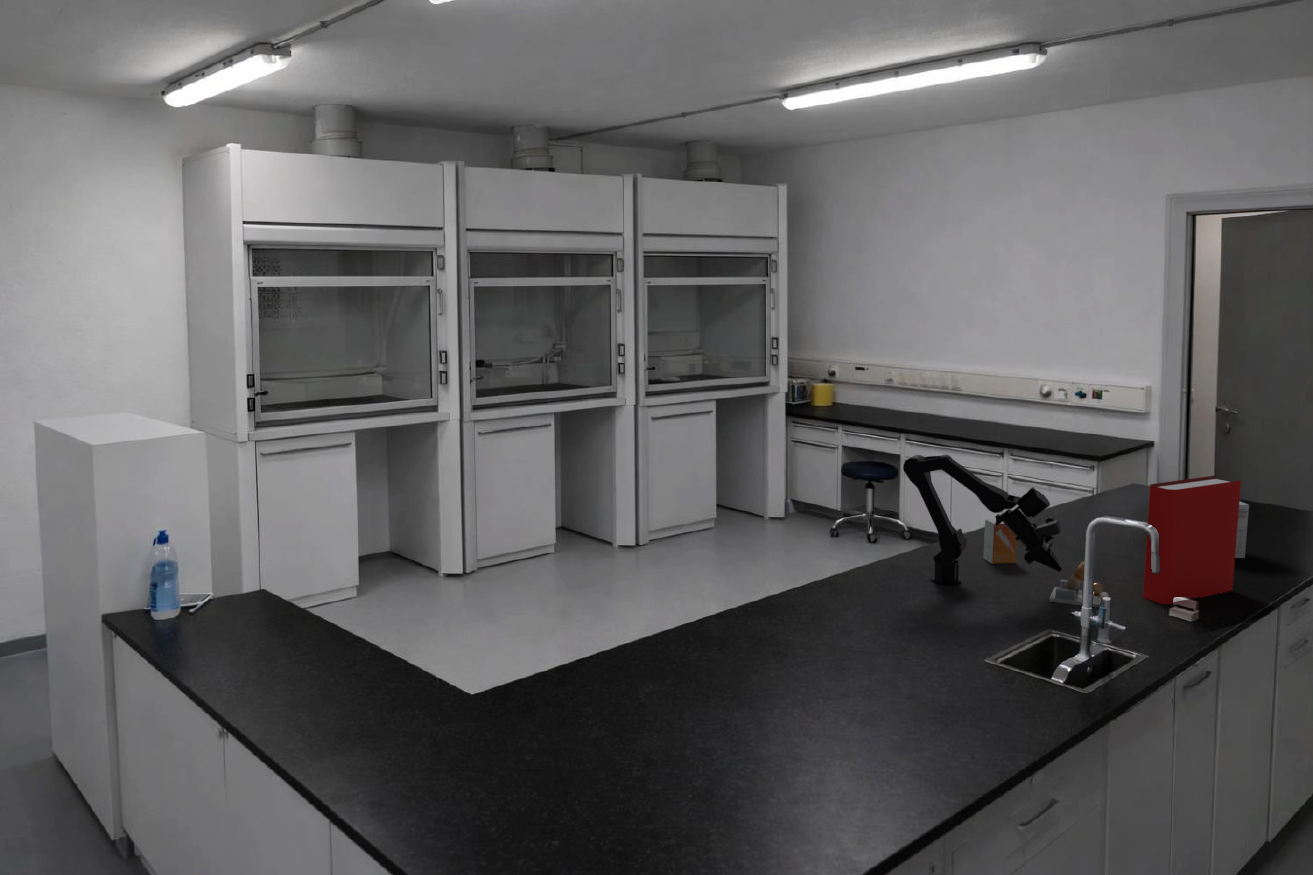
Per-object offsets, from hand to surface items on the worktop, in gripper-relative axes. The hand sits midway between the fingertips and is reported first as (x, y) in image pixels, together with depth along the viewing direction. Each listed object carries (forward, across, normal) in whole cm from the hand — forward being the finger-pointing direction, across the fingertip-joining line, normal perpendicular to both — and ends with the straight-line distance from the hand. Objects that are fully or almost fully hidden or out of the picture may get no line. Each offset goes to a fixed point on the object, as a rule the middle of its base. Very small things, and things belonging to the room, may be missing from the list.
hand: (1060, 570), depth 281 cm
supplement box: (+32, +68, -22) cm, 78 cm away
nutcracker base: (+9, 0, +2) cm, 9 cm away
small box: (-9, +30, +21) cm, 37 cm away
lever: (+5, 0, +2) cm, 6 cm away
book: (+27, +18, -17) cm, 37 cm away
